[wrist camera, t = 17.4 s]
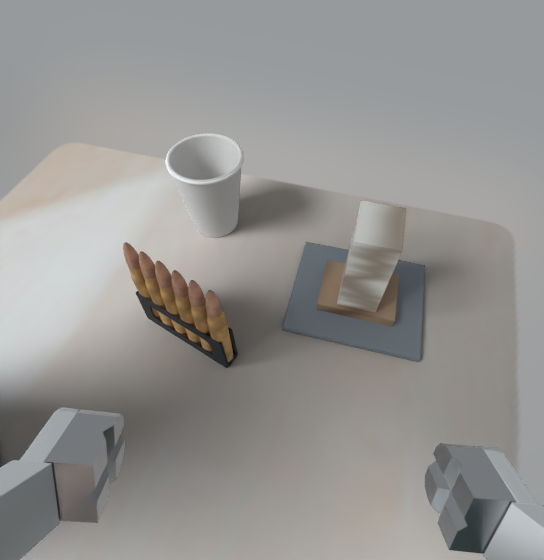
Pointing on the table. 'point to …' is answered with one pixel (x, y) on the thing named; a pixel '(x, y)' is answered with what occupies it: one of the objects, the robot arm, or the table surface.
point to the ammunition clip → (181, 307)
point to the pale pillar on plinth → (367, 267)
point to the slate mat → (353, 331)
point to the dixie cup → (208, 181)
